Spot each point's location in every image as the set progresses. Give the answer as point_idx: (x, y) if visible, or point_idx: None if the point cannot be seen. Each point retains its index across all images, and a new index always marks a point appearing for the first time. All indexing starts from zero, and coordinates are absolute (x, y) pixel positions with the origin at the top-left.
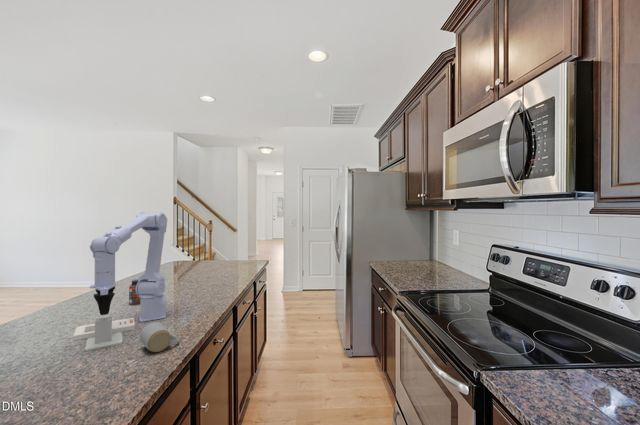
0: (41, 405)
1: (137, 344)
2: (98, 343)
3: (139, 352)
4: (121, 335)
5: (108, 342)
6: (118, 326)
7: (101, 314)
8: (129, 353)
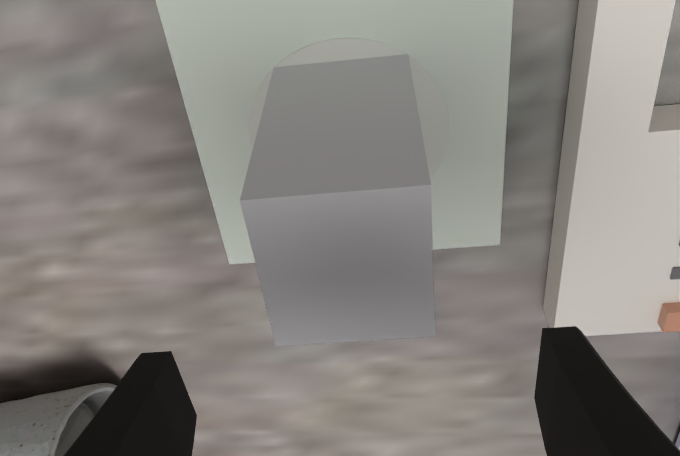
0: None
1: (177, 334)
2: None
3: (23, 348)
4: None
5: None
6: (626, 228)
7: (137, 369)
8: (18, 302)
